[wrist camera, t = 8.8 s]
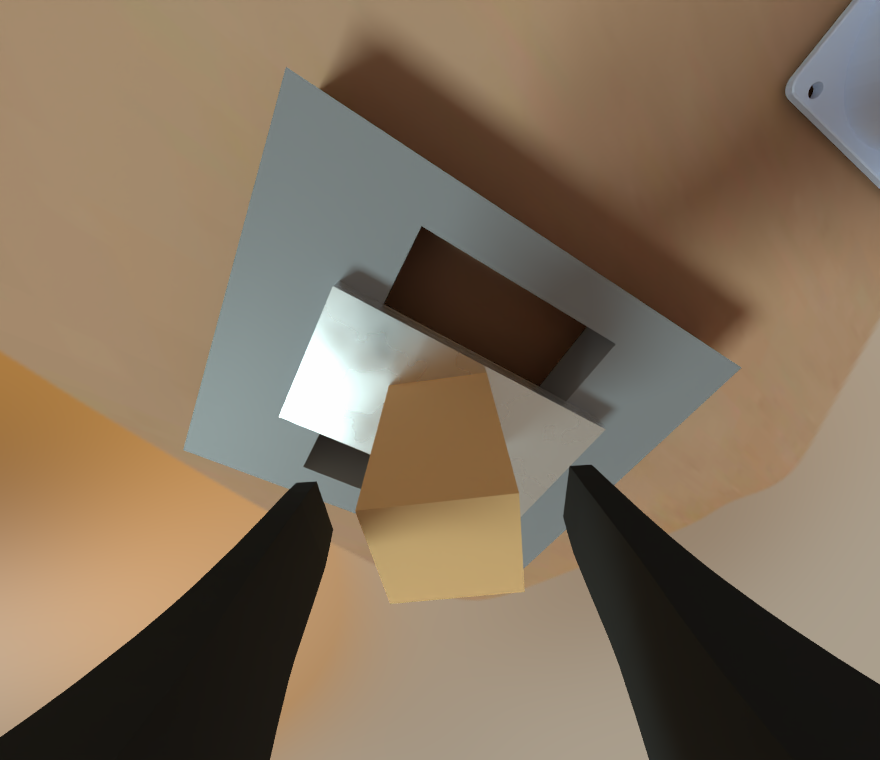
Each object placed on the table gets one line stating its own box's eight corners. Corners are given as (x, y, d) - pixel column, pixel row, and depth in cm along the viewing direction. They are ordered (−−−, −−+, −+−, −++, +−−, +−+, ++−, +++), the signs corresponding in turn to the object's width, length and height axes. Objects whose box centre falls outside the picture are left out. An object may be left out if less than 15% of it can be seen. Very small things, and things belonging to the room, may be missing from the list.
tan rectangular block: (486, 372, 15) (519, 493, 9) (493, 450, 17) (524, 592, 11) (388, 385, 15) (355, 510, 9) (407, 460, 17) (390, 603, 11)
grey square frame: (698, 343, 19) (741, 367, 16) (510, 535, 26) (518, 573, 23) (315, 92, 14) (286, 66, 11) (215, 418, 21) (183, 449, 18)
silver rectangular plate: (597, 417, 17) (605, 429, 17) (517, 503, 20) (520, 517, 19) (339, 280, 14) (332, 286, 13) (287, 405, 17) (279, 416, 16)
